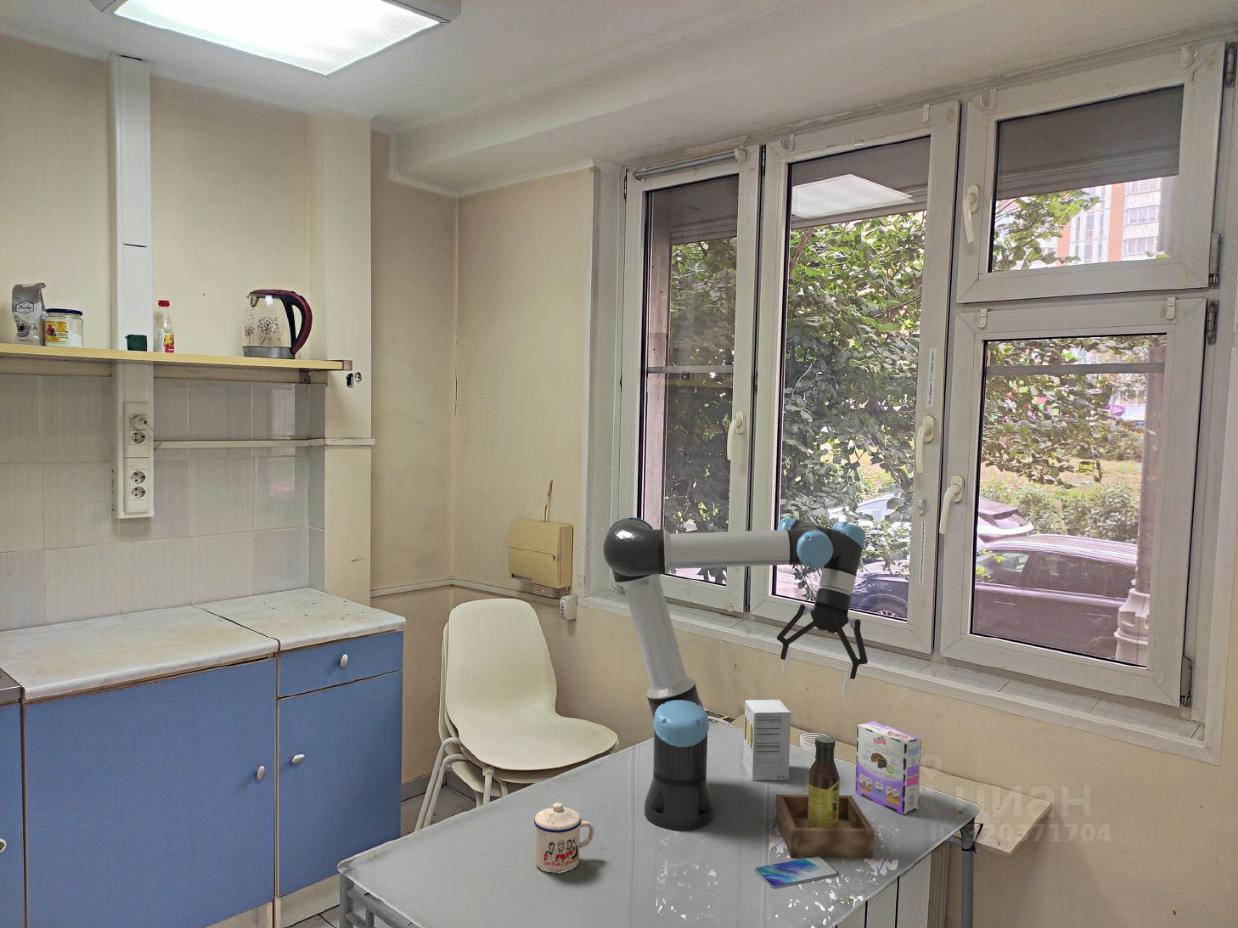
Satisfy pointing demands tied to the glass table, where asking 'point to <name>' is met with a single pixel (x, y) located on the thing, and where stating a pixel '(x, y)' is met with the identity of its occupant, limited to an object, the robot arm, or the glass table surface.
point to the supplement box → (766, 740)
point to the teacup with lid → (559, 838)
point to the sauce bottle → (823, 786)
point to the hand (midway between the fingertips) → (813, 684)
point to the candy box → (888, 766)
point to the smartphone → (796, 872)
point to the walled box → (824, 830)
